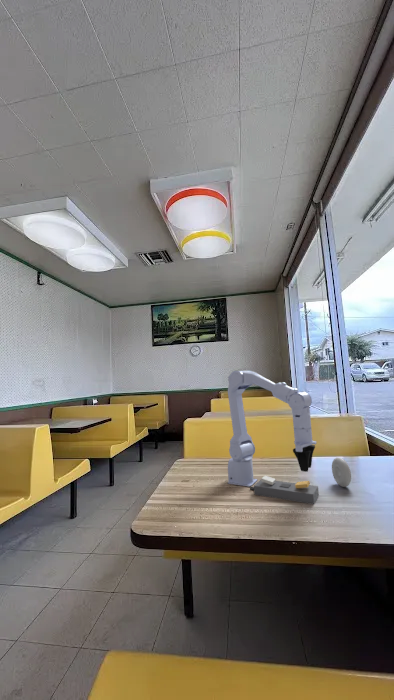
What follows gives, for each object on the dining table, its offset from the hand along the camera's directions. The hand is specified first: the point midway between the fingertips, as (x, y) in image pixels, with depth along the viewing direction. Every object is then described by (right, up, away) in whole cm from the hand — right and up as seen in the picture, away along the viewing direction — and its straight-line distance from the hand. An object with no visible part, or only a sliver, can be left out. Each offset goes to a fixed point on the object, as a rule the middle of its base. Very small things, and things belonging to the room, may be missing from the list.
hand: (306, 469), depth 101 cm
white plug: (-11, -7, +6) cm, 15 cm away
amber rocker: (-1, -6, 0) cm, 6 cm away
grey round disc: (+16, -10, +8) cm, 21 cm away
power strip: (-7, -10, +4) cm, 13 cm away
